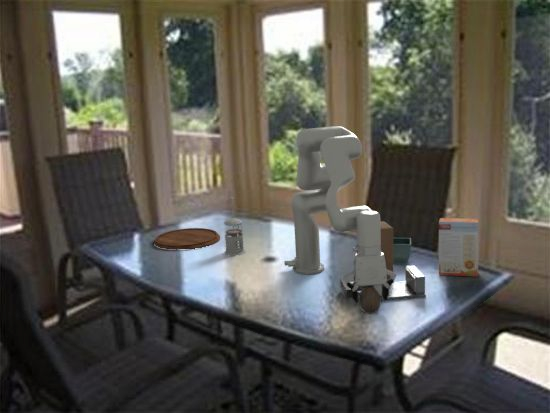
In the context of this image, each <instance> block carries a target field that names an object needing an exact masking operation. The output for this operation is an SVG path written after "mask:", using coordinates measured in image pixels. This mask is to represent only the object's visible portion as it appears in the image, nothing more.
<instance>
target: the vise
mask: <svg viewBox="0 0 550 413" xmlns="http://www.w3.org/2000/svg"><path fill="white" fill-rule="evenodd" d="M404 270H405V271H404V273H405V276H404V277H405V280H400V281H398V280H397V281H394V282H393V283H392V285H391V286H390V288H389V297H387V300H385V299H384V298H383V286H384V285H383V284H382V296H380V298H381V302H387V301H388V302H389V301H400V300H411V299H413V300H414V299H423V298H424V299H425V298H427V294H426V276H425V275H424V274H423V273H422V272H421V270H419V269H418V267H416V265H414V264H413V265H406V266H405V269H404ZM365 287H366V286H364V287H358V288H359V291H363V290H364V288H365Z"/></svg>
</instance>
